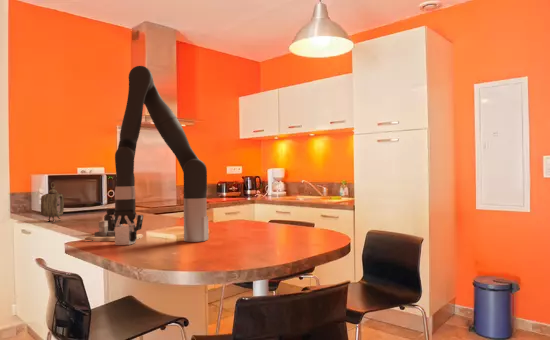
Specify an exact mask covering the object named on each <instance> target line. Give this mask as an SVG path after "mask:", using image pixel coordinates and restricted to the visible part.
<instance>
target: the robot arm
mask: <svg viewBox="0 0 550 340" xmlns="http://www.w3.org/2000/svg"><path fill="white" fill-rule="evenodd" d="M144 106H145V107H146V109H147V113H148V114H149V117H150V119H151V121H152V123H153V124H154V127H155V128H156V130H157V131H158V134H159V135H160V137H161V138H162V140H163V141H164V143H165V144H166V145H167V147H168V148H169V149H170V151H171V152H172V153H173V155H174V157H175V158H176V159H177V161H178V163H179V165H180V168H181V169H182V172H183V241H184V242H188V243H194V242H195V243H196V242H205V241H207V240H209V215H207V213H208V212H207V211H208V209H207V206H208V205H207V204H208V202H207V201H208V200H207V197H208V196H207V195H208V194H207V193H208V192H207V191H208V169H207V165H206V164H205V162H204V161H202V160H201V159H199V157H198V156H197V155H196V153H195V152H194V150H193V148H192V147H191V145H190V143H189V140H188V138H187V135H186V132H185V131H184V128H183V126H182V124H181V122H180V121H179V119H178V117H177V116H176V114H175V113H174V111H173V110H172V108H170V106H169V105H168V104H167V103H166V102H165V101H164V99H163V97H162V96H161V95H160V93H159V90H158V88H157V86H156V84H155V80H154V76H153V73H152V72H151V70H150V69H149V68H148V67H147V66H144V65H136V66H134V67H133V68H131V70H130V71H129V73H128V93H127V101H126V105H125V109H124V110H125V111H124V113H123V118H122V123H121V127H120V132H119V142H118V146H117V150H116V151H115V153H114V165H115V188H114V189H115V190H114V208H115V211H116V212H115V214H114V215H108V216H107V218H108V223H109V229H110V230H112V231H114V232H115V227H119V226H122V225H128V226H129V227H131V231H132V232H131V242H134V241H135V240H136V239H137V234H138V233H137V232H138V231H140V230H142V227H143V220H144V214H138V213H137V212H136V209H137V208H136V207H137V206H136V186H135V185H136V180H135V172H134V171H135V170H134V169H135V156H136V151H137V150H136V149H137V145H138V141H139V137H140V136H139V135H140V132H141V127H142V120H143V113H144V112H143V111H144ZM115 218H116V219H117V222H116V225H115V222H114V220H115ZM135 219H136V222H135ZM135 225H136V226H135ZM137 240H138V239H137ZM137 240H136V241H137Z"/></svg>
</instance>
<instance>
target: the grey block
mask: <svg viewBox="0 0 550 340" xmlns="http://www.w3.org/2000/svg"><path fill="white" fill-rule="evenodd" d="M135 226H136V225H135ZM131 232H132V231H131V227H129V226H128V224H123V225H122V226H119V227H115V242H114V243H115V244H114V245H115V246H130V245H132V244H135V243H136V242H137V240H135V241H134V242H131Z"/></svg>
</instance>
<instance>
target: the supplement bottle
mask: <svg viewBox="0 0 550 340" xmlns="http://www.w3.org/2000/svg"><path fill="white" fill-rule="evenodd" d="M105 212H106V214H105V215H104V217H103V221H108V218H107V216H108V215H114V214H115V212H116V211H115V207H112V208H111V207H109V208H106V210H105ZM114 222H115V225H116V222H117V219H116V218H115V220H114ZM108 231H112V230H110V229H109V223H108Z"/></svg>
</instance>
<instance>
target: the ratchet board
mask: <svg viewBox="0 0 550 340" xmlns="http://www.w3.org/2000/svg"><path fill="white" fill-rule="evenodd" d="M142 237H143V238H144V235H143V234H142V233H137V240H140V239H143V238H142ZM139 238H140V239H139ZM85 240H95V241H94V242H100V241H115V232H114V231H108V221H104V220H100V221H98V231H95V232H94V235H91V236H86V237H84V241H85Z"/></svg>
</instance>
